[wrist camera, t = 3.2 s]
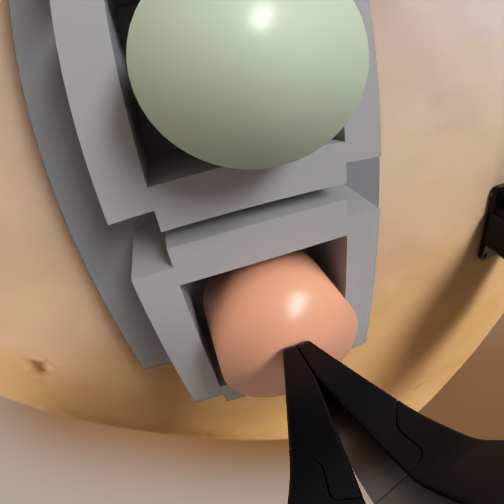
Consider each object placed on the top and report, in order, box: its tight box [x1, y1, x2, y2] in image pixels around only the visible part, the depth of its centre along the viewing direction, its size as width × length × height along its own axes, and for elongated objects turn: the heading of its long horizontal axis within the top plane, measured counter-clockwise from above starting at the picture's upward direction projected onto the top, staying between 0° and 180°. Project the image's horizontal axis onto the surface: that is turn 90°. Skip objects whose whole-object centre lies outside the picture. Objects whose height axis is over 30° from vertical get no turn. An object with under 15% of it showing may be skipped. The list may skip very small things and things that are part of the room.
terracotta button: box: [203, 249, 358, 397], centre depth 10 cm, size 4×4×3 cm
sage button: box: [126, 0, 369, 170], centre depth 6 cm, size 4×4×3 cm
